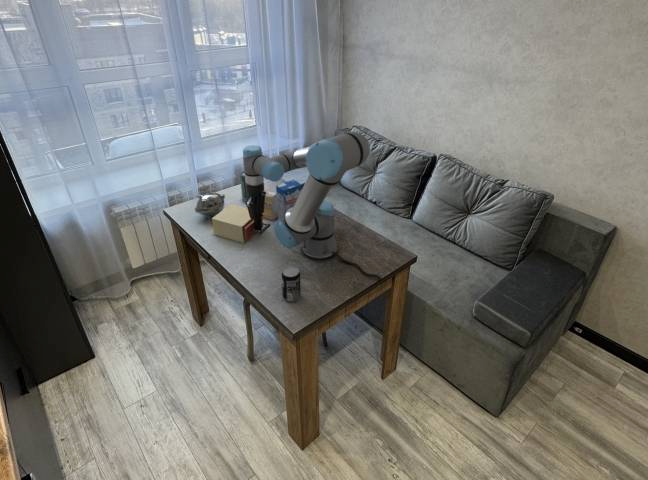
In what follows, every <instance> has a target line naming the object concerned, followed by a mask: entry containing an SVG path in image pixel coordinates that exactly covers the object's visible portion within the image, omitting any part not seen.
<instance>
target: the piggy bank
mask: <svg viewBox="0 0 648 480" xmlns="http://www.w3.org/2000/svg"><path fill="white" fill-rule="evenodd" d="M196 198H198V200H197V202H196V206H195V207H194V212H195V213H197V214H200V215H201V216H205V217H207V220H212V218H213V217H214V216H216V215H217V214H218V213H220V212H221V211H223V210H224V209H225V204H226V203H225V199H226V195H225V194H224V193H223V194H220V193H218V192H208V193H205V194H202V193H201V194H200V193H199V194H197V195H196Z"/></svg>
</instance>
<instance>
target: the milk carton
mask: <svg viewBox="0 0 648 480" xmlns="http://www.w3.org/2000/svg"><path fill="white" fill-rule="evenodd" d="M302 188H303V184H302V183H300V182H298V181H297V180H295V179H291V180H289V181H285V182H283V183H280V184H276V185H275V191H276V192H275V193H277V212H278V216H277V221H278V220H282V219H283V218H284V216H285V214H286V212H287V211H288V210H289V209H290V208H292V207H294V205H295V203H296V201H297V199H298V197H299V195H300V192H301V190H302Z"/></svg>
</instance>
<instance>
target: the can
mask: <svg viewBox="0 0 648 480" xmlns="http://www.w3.org/2000/svg"><path fill="white" fill-rule="evenodd" d="M239 181H240V190H241V199H242V201H243V203H246V202H248V200H249V199H248V197H249V194H248V192H247V191H246V182H245V172H244V171H241V172H239Z"/></svg>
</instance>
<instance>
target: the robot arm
mask: <svg viewBox="0 0 648 480" xmlns="http://www.w3.org/2000/svg"><path fill="white" fill-rule="evenodd" d="M370 145H371V144H370V142H369V140H368V139H367V137H366V136H365V135H364V134H363V133H360V132H358V131H347V132H343V133H341V134H338V135H335V136H332V137H329V138H324V139H321V140H319V141H318V140H317V142H315V143H313V144H311V145H310V146H307V147H302V148H295V149H292V150H290V151H286V152H283V153H281V154H276V155H274V156H271V157H268V156H266V155H263V150H262V147H261V146H259V145H255V144H251V145H246V146H245V147H243V149H242V160H243V170H244V171H243V172H245V182H246V191H247V192H248V194H249V197H248V199H249V200H248V202H244V205H245V207H246V208H247V209H248V212H249V216H250V218H251V219H254V225H255V230H259V231H260V230H261V229H263V228H262V223H261V216H262V218H264V217H263V214H262V213H264V206H265V195H266V191H264V190H265V182H264V181H265V180H269V181H271V182H278V181H280V180H281V179H282V178H283V177H284V174H286V173H289V172H292V171H294V170H299V169H302V168H307V171H308V176H307V178H306V180H305V182H304V185H302V190H301V192H300V195H299V197H298V199H297V201H296V203H295V205H294V207H292V208H290V209H289V210H288V211H287V212H286V214H285V216H284V218H283V219H282V220H278V219H277V221H276V222H275V223H274V224H273V231H274V234H275V236H276V238H277V240H278V242H279V243H280V244H281V245H282V246H283V247H285V248H286V249H292V248H295V247H297V246H298V245H300V244H301V251H302V253H303V255H304V256H305V257H307V258H309V259H312V260H317V261H318V260H320V261H321V260H323V261H324V260H327V259H330V258H332V257H333V256H336V257H337V258H338V259H339V260H340V261H342V262H343V263H346V264H349V265H353V266H354V267H356V268H357V269H359V271H360V272H361V273H362V274H363V275H365V276H367V277H374V278H377V279H378V280H379V281H380V282H382V281H383V278H382V277H381V276H379V274H375V273H373V274H372V273H368V272H366V271H365V270H364V269H363V268H362V267H361V266H360V265H359V264H357V263H356V262H353V261H351V260H347V259H345V258H343V257H342V256H340V254H339V253H337V252H338V245H337V240H336V237H335V235H334V226H335V224H334V223H335V206H334V205H333V204H332V203H331V202H330V201H328V200H327V199H326V198H327V195H328V194H329V192H330V190H331V189H332V187H334V186H336V185H338V184H339V183H340V182H341V181H342V179H343V177H344V176H345V174H346V173H347V172H348V171H350V170H353V169H355V168H357V167H360V166H361V165H363V164H364V163H365V162H366V161H367V160H368V158H369V155H370V152H371V146H370ZM259 231H258V232H259Z"/></svg>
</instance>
